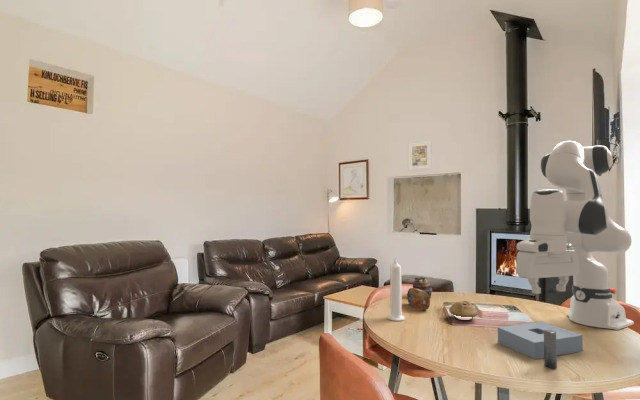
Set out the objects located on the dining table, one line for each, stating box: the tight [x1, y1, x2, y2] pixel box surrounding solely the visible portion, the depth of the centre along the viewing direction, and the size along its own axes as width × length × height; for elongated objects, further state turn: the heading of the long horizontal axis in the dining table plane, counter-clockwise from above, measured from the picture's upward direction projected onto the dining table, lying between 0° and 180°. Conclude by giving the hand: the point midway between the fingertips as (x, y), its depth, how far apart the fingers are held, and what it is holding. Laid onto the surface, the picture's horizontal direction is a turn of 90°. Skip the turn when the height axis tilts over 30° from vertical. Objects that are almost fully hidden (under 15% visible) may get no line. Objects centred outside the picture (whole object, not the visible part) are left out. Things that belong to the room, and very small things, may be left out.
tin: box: [406, 287, 431, 311], centre depth 158 cm, size 15×3×8 cm, turn 17°
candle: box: [387, 257, 406, 322], centre depth 142 cm, size 7×7×25 cm
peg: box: [543, 330, 558, 370], centre depth 99 cm, size 3×3×10 cm
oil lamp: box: [448, 300, 479, 318], centre depth 143 cm, size 11×15×8 cm
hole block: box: [497, 321, 584, 360], centre depth 113 cm, size 20×14×5 cm
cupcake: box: [412, 277, 433, 299], centre depth 177 cm, size 10×10×10 cm
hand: (548, 292), depth 99 cm, fingers open, 8 cm apart
